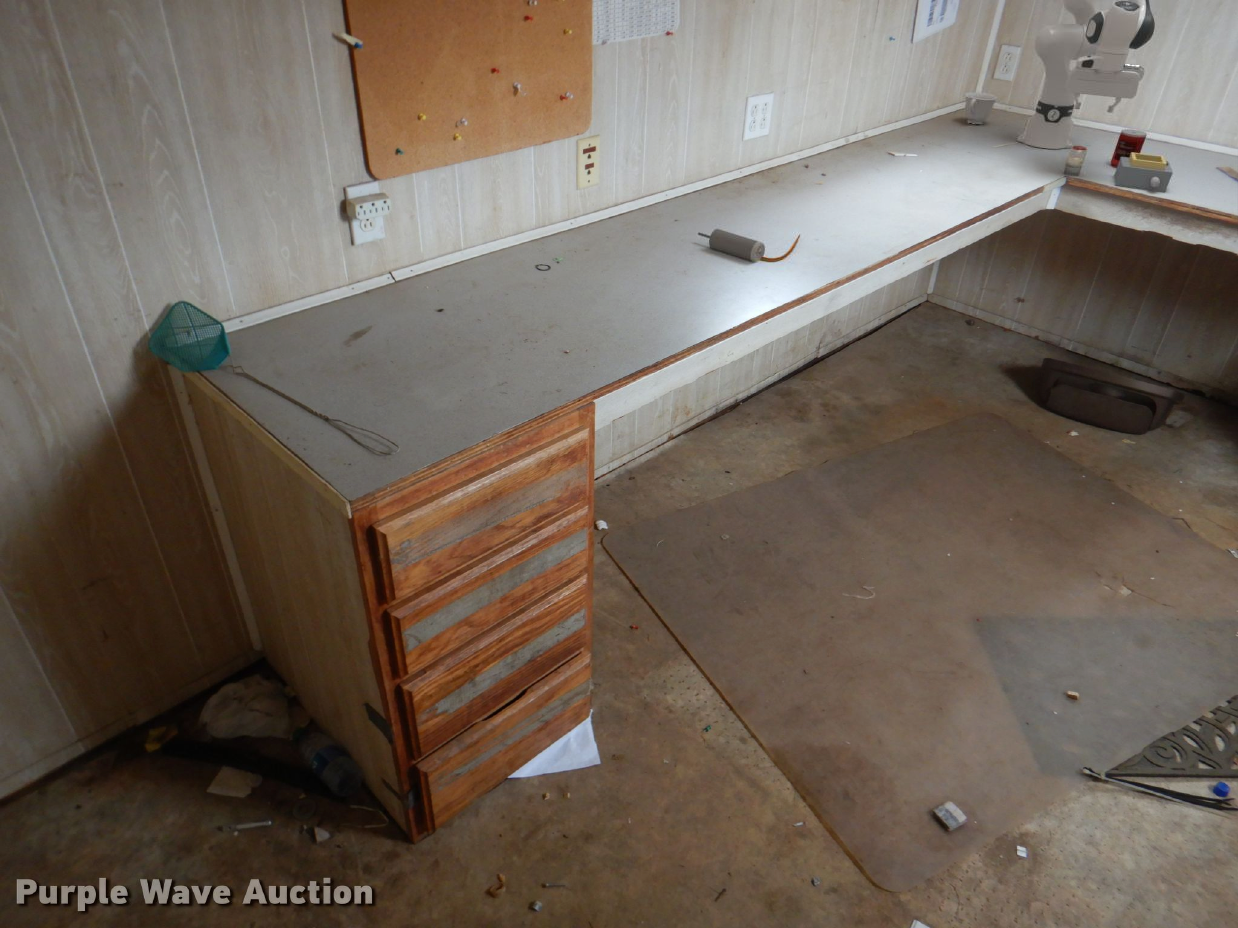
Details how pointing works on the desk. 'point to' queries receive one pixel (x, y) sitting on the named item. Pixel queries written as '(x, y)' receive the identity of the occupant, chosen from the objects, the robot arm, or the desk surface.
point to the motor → (741, 246)
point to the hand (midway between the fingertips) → (1093, 110)
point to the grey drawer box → (1143, 172)
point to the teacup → (978, 106)
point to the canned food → (1128, 144)
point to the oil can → (1075, 160)
